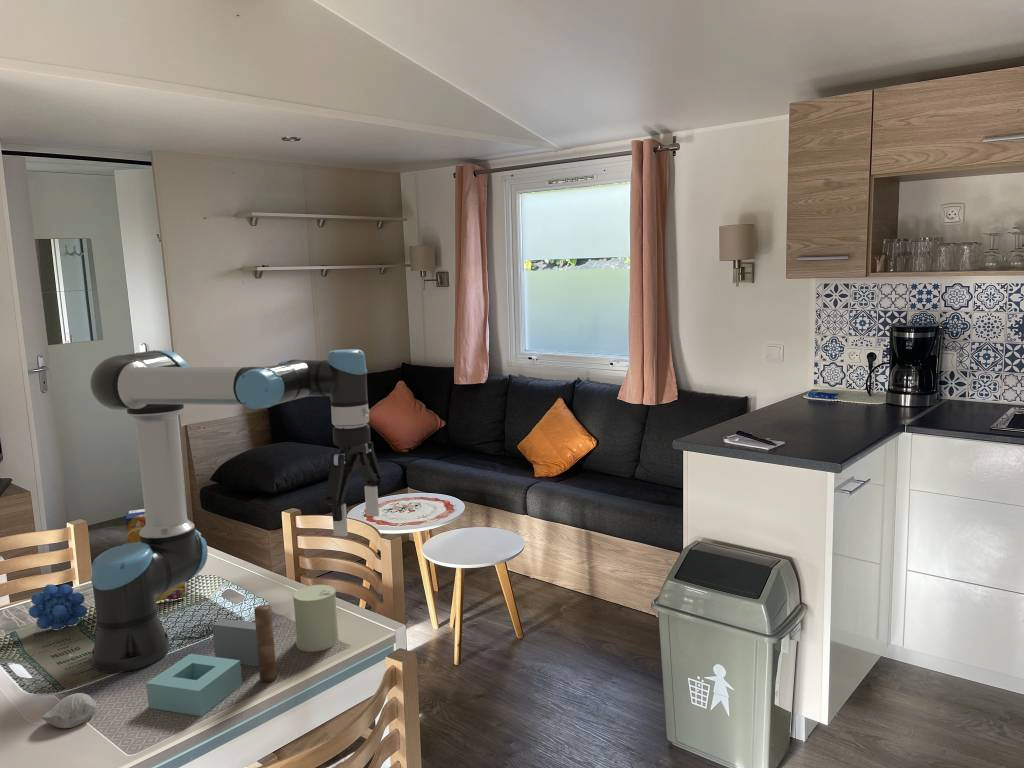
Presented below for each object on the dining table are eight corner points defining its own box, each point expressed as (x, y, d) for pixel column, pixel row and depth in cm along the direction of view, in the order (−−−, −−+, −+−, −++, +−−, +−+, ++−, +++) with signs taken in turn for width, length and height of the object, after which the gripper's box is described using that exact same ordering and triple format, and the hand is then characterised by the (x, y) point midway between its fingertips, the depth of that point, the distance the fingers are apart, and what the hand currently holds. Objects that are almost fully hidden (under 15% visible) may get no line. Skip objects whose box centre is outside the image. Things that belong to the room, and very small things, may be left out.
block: (148, 707, 147) (146, 683, 147) (192, 676, 159) (190, 653, 158) (201, 716, 144) (199, 690, 143) (242, 684, 155) (240, 660, 155)
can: (328, 653, 167) (324, 599, 166) (288, 650, 169) (284, 597, 168) (345, 634, 176) (342, 583, 175) (308, 631, 178) (304, 581, 176)
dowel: (256, 682, 156) (250, 610, 154) (266, 674, 159) (260, 604, 157) (270, 684, 155) (264, 612, 153) (279, 676, 158) (274, 605, 156)
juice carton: (187, 593, 203) (179, 504, 200) (187, 604, 196) (178, 512, 193) (137, 602, 199) (127, 511, 196) (134, 613, 192) (125, 518, 189)
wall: (215, 660, 166) (212, 624, 165) (224, 653, 168) (221, 618, 167) (263, 666, 162) (260, 630, 161) (272, 660, 165) (269, 624, 164)
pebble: (66, 737, 139) (63, 711, 138) (35, 729, 142) (31, 703, 141) (107, 712, 147) (105, 687, 146) (77, 705, 150) (74, 680, 149)
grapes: (33, 646, 176) (27, 595, 174) (30, 635, 181) (24, 586, 179) (91, 631, 182) (86, 582, 181) (87, 621, 188) (82, 574, 186)
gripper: (336, 437, 147) (343, 546, 150) (394, 414, 170) (399, 509, 173) (301, 436, 149) (309, 543, 152) (363, 414, 173) (369, 507, 175)
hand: (357, 525), depth 162 cm, fingers open, 13 cm apart
